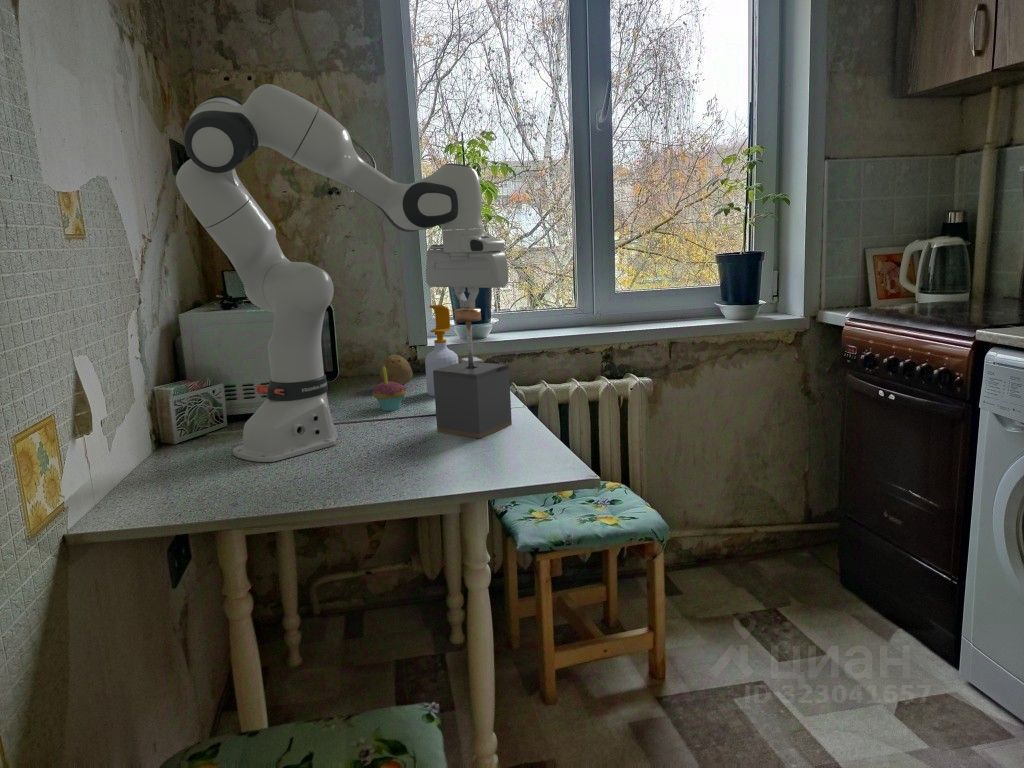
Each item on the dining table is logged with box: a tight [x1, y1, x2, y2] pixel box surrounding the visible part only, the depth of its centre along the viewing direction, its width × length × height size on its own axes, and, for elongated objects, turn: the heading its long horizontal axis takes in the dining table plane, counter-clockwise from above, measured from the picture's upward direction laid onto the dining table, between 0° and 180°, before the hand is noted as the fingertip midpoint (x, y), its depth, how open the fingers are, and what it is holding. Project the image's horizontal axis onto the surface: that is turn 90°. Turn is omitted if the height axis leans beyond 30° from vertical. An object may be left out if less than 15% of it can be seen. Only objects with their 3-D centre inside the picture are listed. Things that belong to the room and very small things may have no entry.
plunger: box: [454, 307, 482, 369], centre depth 155 cm, size 10×10×15 cm
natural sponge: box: [379, 354, 414, 387], centre depth 202 cm, size 9×9×10 cm
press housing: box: [433, 361, 513, 439], centre depth 158 cm, size 12×12×14 cm
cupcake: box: [372, 364, 407, 412], centre depth 179 cm, size 9×8×12 cm
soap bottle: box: [424, 304, 459, 398], centre depth 192 cm, size 9×9×25 cm
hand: (467, 308), depth 153 cm, fingers closed
